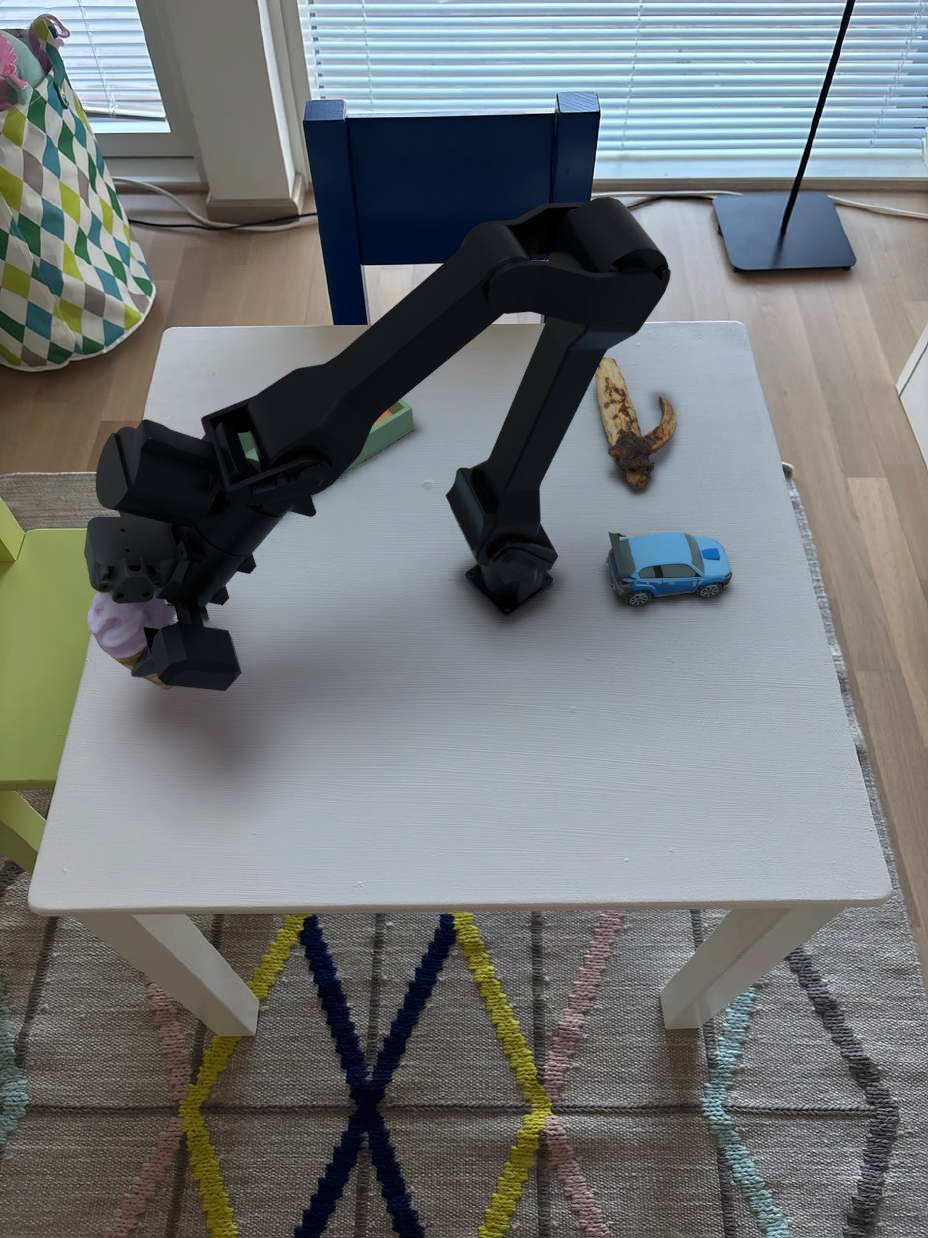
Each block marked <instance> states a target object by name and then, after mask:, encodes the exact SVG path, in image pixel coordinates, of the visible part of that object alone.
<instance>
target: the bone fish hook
mask: <svg viewBox="0 0 928 1238" xmlns="http://www.w3.org/2000/svg"><path fill="white" fill-rule="evenodd" d="M594 379H595V380H594V383H595V388H596V391H597V392H596V393H597V404H598V406H599V410H600V414H601V420H602V426H603V427H604V430H605V434H606V437H607V441H608V443H609V446H610V447H609V448H608V451H607V453H608V455H609V456H610V457H613V458H614V461H615V464H616V465H617V467H618V468H619V470H620V471H621V472H623V473H625V474H626V480H625V481H626V482H627V483H629V485H630V487H632V488H633V489H643V488H647V486H648V484H649V480H651V474H652V473H653V471H654V469H655V464H656V462H655V461H653V462H652V461H651V460H650V458H649V457H650V456H652V455H653V454H656V453H657V452H659V450H661V449H663V448H664V447H665V446H666V445H667V444H668V443H669V442H670V440H671V438H672V437H673V435H674V433H675V429H676V425H677V414H676V411H675V409H674V407H673V405H672V404H671V403H670V401H668V400H667V399H666V398H665V397H664V396H662V395H659V396H658V402H659V406H660V409H661V413H662V415H661V419H660V422H659V424H658V425H657V426H655V428H653V429H652V430H651V431H648V432H647V433H646V434H644V435H642V433H641V427H640V424H639V421H638V418H637V412H636V410H635V408H634V405H633V402H632V399H631V397H630V394H629V391H628V387H627V384H626V380H625V378H624V376H623V373H622V370H621V367H620V366H619V365H618V363H617V360H616V359H614V358H613V357H604V356H603V359H602V361H601V363H600V365H599V367H598V369H597V371H596V373H595V375H594Z"/></svg>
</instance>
